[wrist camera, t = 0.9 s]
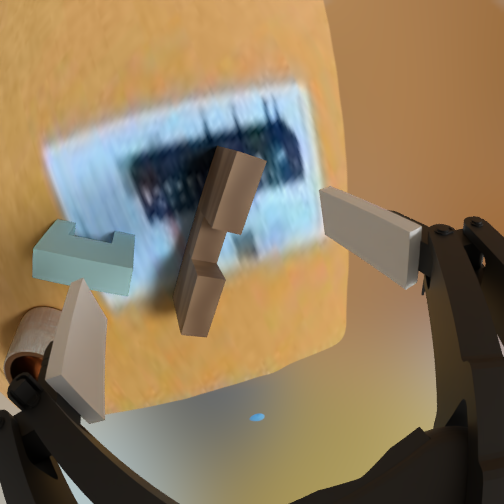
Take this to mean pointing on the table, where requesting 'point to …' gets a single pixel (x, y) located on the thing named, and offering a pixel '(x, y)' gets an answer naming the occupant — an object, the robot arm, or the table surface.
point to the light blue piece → (84, 259)
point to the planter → (31, 342)
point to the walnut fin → (214, 236)
